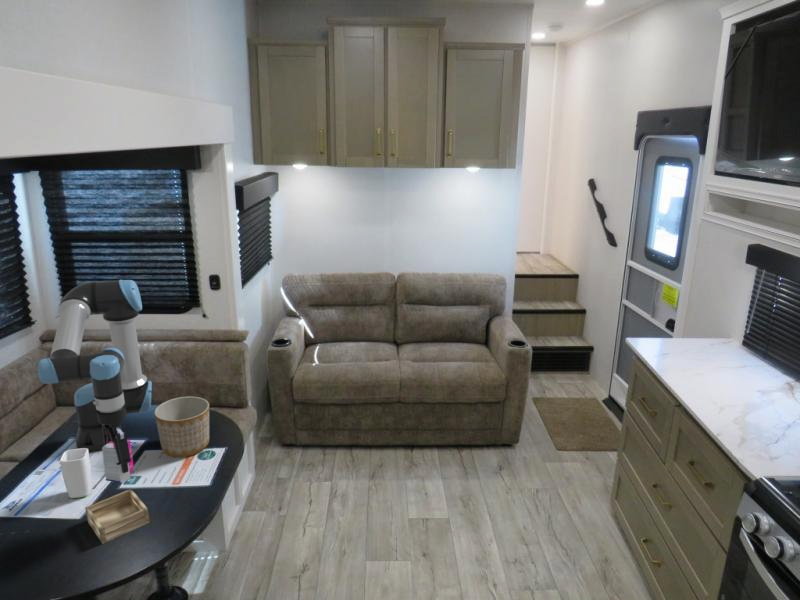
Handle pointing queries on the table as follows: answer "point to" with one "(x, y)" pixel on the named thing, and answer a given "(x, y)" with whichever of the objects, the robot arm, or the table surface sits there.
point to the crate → (117, 515)
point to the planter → (183, 425)
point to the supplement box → (114, 462)
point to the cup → (76, 472)
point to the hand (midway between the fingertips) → (120, 474)
